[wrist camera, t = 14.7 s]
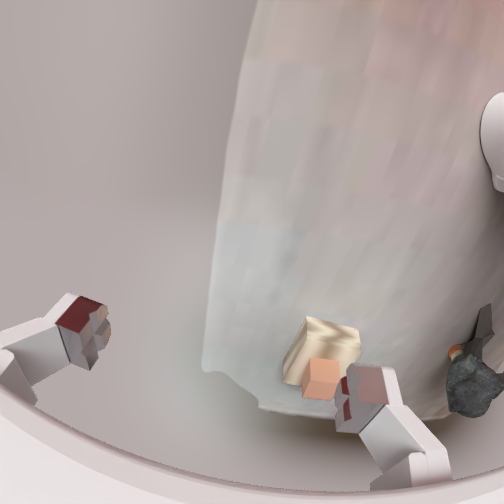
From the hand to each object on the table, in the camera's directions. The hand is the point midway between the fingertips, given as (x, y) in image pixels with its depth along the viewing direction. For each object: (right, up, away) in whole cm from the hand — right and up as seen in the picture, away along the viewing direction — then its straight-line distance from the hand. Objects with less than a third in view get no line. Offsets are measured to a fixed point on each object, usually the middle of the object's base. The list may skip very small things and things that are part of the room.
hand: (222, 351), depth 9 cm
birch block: (+13, -14, +45) cm, 49 cm away
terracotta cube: (+13, -17, +39) cm, 45 cm away
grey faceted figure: (+45, -16, +41) cm, 63 cm away
